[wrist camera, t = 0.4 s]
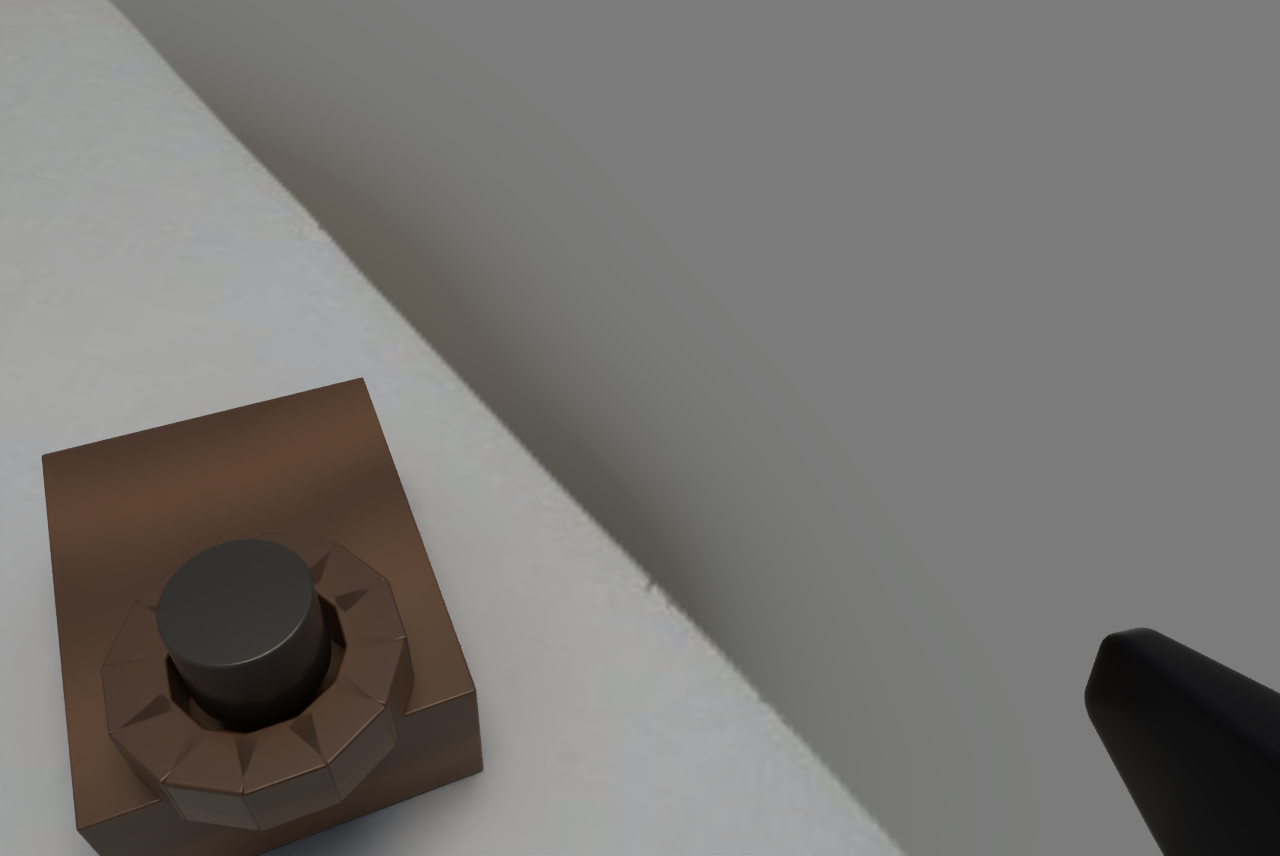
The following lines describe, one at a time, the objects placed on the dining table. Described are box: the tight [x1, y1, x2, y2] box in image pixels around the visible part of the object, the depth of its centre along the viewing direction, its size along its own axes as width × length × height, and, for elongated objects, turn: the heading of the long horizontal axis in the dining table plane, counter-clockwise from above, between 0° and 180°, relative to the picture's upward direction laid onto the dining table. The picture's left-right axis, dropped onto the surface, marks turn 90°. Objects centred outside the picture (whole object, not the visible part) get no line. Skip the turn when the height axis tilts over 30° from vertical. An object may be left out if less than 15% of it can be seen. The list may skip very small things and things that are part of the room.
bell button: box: [156, 539, 332, 725], centre depth 20 cm, size 3×3×2 cm
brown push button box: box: [42, 378, 483, 856], centre depth 25 cm, size 11×8×6 cm
